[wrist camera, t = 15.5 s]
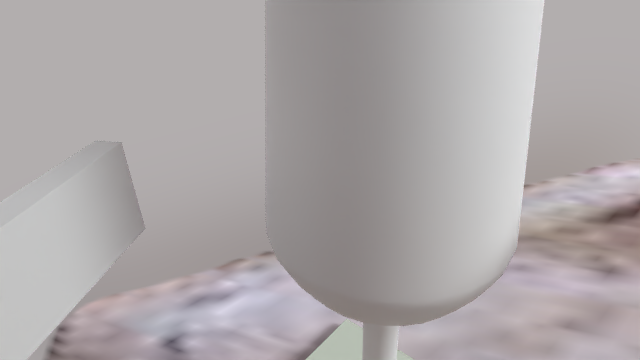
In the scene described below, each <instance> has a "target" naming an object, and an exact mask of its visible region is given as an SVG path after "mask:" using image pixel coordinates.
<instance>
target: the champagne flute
mask: <svg viewBox="0 0 640 360" xmlns="http://www.w3.org/2000/svg"><path fill="white" fill-rule="evenodd" d="M265 8H266V9H265V22H266V23H265V24H266V25H265V29H266V30H265V31H266V32H265V33H266V34H265V49H266V50H265V52H266V53H265V56H266V57H265V58H266V60H265V64H266V65H265V67H266V69H265V70H266V71H265V73H266V74H265V76H266V78H265V80H266V82H265V84H266V85H265V89H266V91H265V93H266V231H267V236H268V238H269V241H270V243H271V245H272V248H273V251H274V253H275V255H276V258H277V260H278V261H279V262H280V263H281V265H282V266H283V267H284V268H285V269H286V271H287V272H288V273H289V274H290V275H291V277H292V278H293V279H294V280H295V281H296V282H297V283H298V285H299V286H300V287H301V288H302V289H304V290H305V291H306V292H308V293H309V294H310V295H311V296H313V297H314V298H315V299H317V300H318V301H319V302H321V303H322V304H324V305H325V306H326V307H328V308H329V309H331V310H333V311H335V312H337V313H339V314H341V315H343V316H345V317H348V318H351V319H354V320H357V321H360V322H363V351H362V360H397V348H398V335H399V326H407V325H414V324H421V323H425V322H428V321H431V320H434V319H437V318H441V317H443V316H445V315H447V314H449V313H451V312H454V311H456V310H458V309H459V308H461V307H463V306H465V305H466V304H468V303H470V302H472V301H473V300H474V299H476V298H477V297H478V296H480V295H481V294H482V293H483V292H485V291H486V290H487V289H488V288H489V287H490V286H491V285H493V284H494V283H495V282H496V281H497V280H498V279H499V278H500V277H501V276H502V275H503V273H504V271H505V269H506V268H507V266H508V264H509V262H510V260H511V258H512V257H513V255H514V253H515V251H516V249H517V241H518V232H519V223H520V214H521V205H522V196H523V187H524V178H525V169H526V161H527V151H528V143H529V134H530V125H531V116H532V107H533V98H534V89H535V80H536V71H537V62H538V53H539V44H540V36H541V26H542V17H543V8H544V0H265Z"/></svg>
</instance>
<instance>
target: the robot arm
mask: <svg viewBox="0 0 640 360" xmlns="http://www.w3.org/2000/svg"><path fill="white" fill-rule="evenodd" d="M144 229H145V225H144V222H143V218H142V215H141V211H140V208H139V204H138V200H137V197H136V193H135V190H134V186H133V183H132V179H131V175H130V172H129V169H128V164H127V161H126V157H125V154H124V150H123V146H122V143H121V142H105V141H94V142H93V143H91V144H90V145H88V146H87V147H85V148H84V149H82V150H80V151H79V152H77V153H76V154H74V155H73V156H71V157H69V158H68V159H66V160H65V161H63V162H62V163H60V164H59V165H57V166H56V167H54V168H52V169H51V170H49V171H48V172H46V173H45V174H43V175H42V176H40V177H39V178H37V179H35V180H34V181H32V182H31V183H29V184H28V185H26V186H25V187H23V188H21V189H20V190H18V191H17V192H15V193H14V194H12V195H11V196H9V197H7V198H6V199H4V200H3V201H1V202H0V360H27V359H28V358H29V357H30V355H32V353H33V352H34V351H35V350H36V349H37V348H38V347H39V346H40V345H41V343H42V342H43V341H44V340H45V339H46V338H47V337H48V336H49V335H50V334H51V332H52V331H53V330H54V329H55V328H56V327H57V326H58V325H59V324H60V322H61V321H62V320H63V319H64V318H65V317H66V316H67V315H68V314H69V313H70V311H71V310H72V309H73V308H74V307H75V306H76V305H77V303H79V301H80V300H81V299H82V298H83V297H84V296H85V295H86V294H87V293H88V291H89V290H90V289H91V288H92V287H93V286H94V285H95V284H96V283H97V282H98V280H99V279H100V278H101V277H102V276H103V275H104V274H105V273H106V271H107V270H108V269H109V268H110V267H111V266H112V265H113V264H114V263H115V262H116V261H117V259H118V258H119V257H120V256H121V255H122V254H123V253H124V252H125V251H126V249H127V248H128V247H129V246H130V245H131V244H132V243H133V242H134V241H135V239H136V238H137V237H138V236H139V235H140V234H141V233H142V232H143V231H144Z"/></svg>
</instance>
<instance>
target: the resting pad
mask: <svg viewBox="0 0 640 360" xmlns="http://www.w3.org/2000/svg"><path fill="white" fill-rule="evenodd" d="M362 351H363V329H362V328H361V327H359V326H357V325H356V324H354V323H352V322H351V321H349V320H347V319H346V320H345V321H344V322H343V323H342V324H341V325H340V326H339V327H338V328H337V329H336V330H335V331H334V332H333V333H332V334H331V335H330V336H329V337H328V338H327V339H326V340H325V341H324V342H323V343H322V344H321V345H320V346H319V347H318V348H317V349H316V350H315V351H314V352H313V353H312V354H311V355H310V356H309V357H308V358H307V359H306V360H362ZM397 360H414V359H413V358H411V357H409V356H408V355H406V354H404V353H403V352H401V351H399V350H398V349H397Z"/></svg>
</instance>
